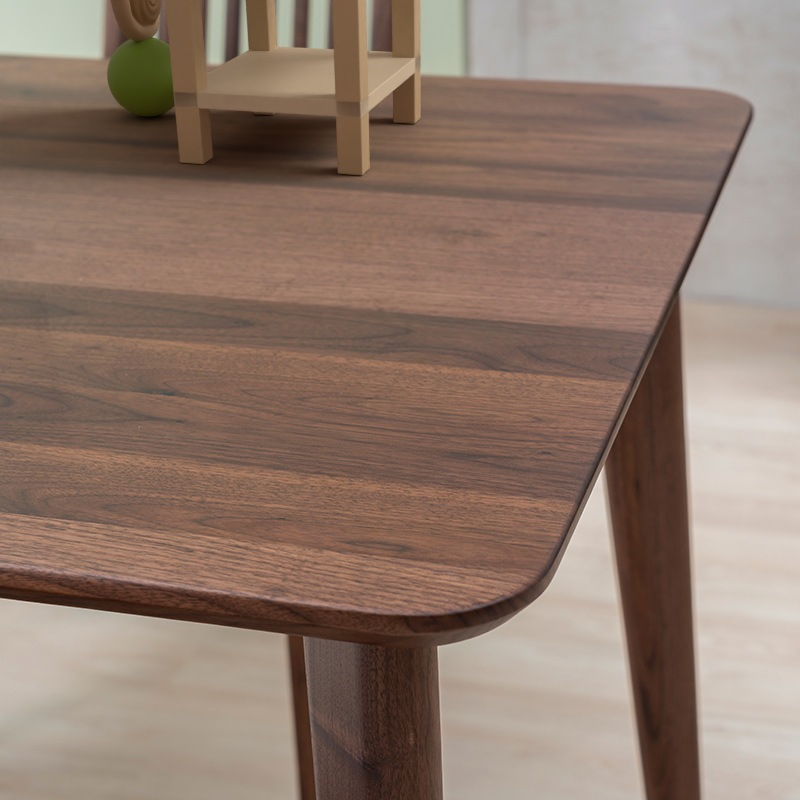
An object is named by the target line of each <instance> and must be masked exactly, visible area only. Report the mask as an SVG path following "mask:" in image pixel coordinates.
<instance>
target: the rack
mask: <svg viewBox="0 0 800 800" xmlns="http://www.w3.org/2000/svg"><path fill="white" fill-rule="evenodd" d="M164 2H165V15H166V25H167V26H166V27H167V35H168V45H169V48H170V59H171V70H172V81H173V91H174V102H175V106H174V112H175V123H176V134H177V135H176V136H177V143H178V144H177V145H178V155H179V163H181V164H194V165H195V164H196V165H204V164H206V163H207V162H209V161H210V160H211V159H213V158H214V153H213V151H214V150H213V139H212V138H213V137H212V127H211V126H212V125H211V115H210V110H218V111H233V112H234V111H237V112H250V113H251V112H252V114H253V115H260V116H261V115H262V116H274V115H276V114H285V115H301V116H321V117H333V118H334V117H335V127H336V128H335V129H336V156H337V158H336V159H337V161H336V162H337V174H338V175H351V176H364V175H365V174H366V172H368V170H370V168H371V159H370V115H369V112H370V111H371V110H372V109H374V108H375V107H376V106H377V105H378V104H380V103H381V102H382V101H384V99H386V98H387V97H388V96H389V95H390V94H391V93H392V122H393V123H395V124H410V125H411V124H412V125H415V124H416V123H418V122H419V120H421V117H422V115H421V114H422V112H421V111H422V109H421V108H422V107H421V105H422V103H421V102H422V100H421V99H422V96H421V95H422V93H421V92H422V91H421V90H422V88H421V86H422V85H421V83H422V81H421V79H422V78H421V75H422V74H421V68H422V63H421V61H422V59H421V58H422V55H421V0H391V51H381V50H380V51H377V50H368V24H367V23H368V19H367V18H368V17H367V0H331V8H332V9H331V10H332V11H331V13H332V39H333V48H317V47H316V48H315V47H313V48H312V47H294V46H278V32H277V16H276V0H245V15H246V31H247V45H248V47H247V48H248V50H246V51H244V52H243V53H240V54H239V55H237V56H235V57H234V58H232V59H230V60H227V61H226V62H224V63H223V64H221V65H219V66H217V67H215V68H213V69H211V70H210V71H208V72H207V64H206V53H205V40H204V39H205V38H204V26H203V15H202V1H201V0H164Z"/></svg>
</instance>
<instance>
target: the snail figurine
mask: <svg viewBox="0 0 800 800" xmlns="http://www.w3.org/2000/svg"><path fill="white" fill-rule="evenodd" d="M109 1H110V4H111V9H112V12H113V15H114V18H115V21H116V23H117V26H118V28H119V31H121V33H122V34H123V35H124V36H125V37H126V38H128V40H126V41H125V42H123V43H121V44H120V45H119V46H118V47H117V48H116V49H115V51H114V52H113V53H112V55H111V57H110V59H109V62H108V65H107V71H106V75H107V76H106V80H107V84H108V88H109V90H110V93H111V95H112V97H113V98H114V100H115V101H116V102H117V103H118V104H119V106H121V107H122V109H124V110H125V111H128V112H129V113H131V114H134V115H136V116H139V117H156V116H159V115H164V114H165V113H167V112H169V111H170V110H172V109H173V108H175V102H174V91H173V81H172V70H171V59H170V48H169V43H167V42H165V41H163V40H162V39H159V38H157V37H155V36H156V34H157V33H158V31H159V28H160V23H161V22H160V21H161V18H160V14H161V10H162V6H163V0H109Z"/></svg>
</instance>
